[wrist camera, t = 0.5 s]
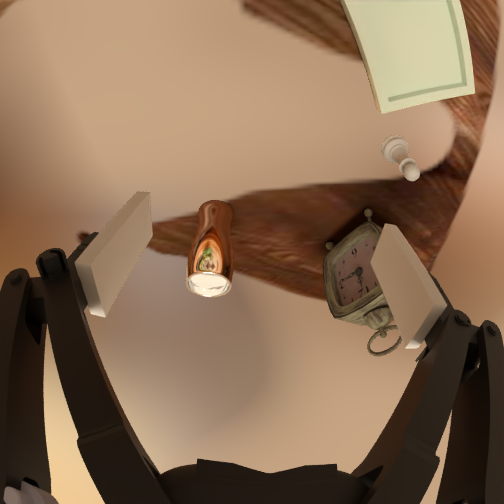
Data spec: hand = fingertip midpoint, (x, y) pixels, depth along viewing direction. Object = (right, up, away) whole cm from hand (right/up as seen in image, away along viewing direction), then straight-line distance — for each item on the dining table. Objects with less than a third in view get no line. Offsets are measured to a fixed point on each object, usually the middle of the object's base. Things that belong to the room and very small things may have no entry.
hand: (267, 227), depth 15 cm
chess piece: (+21, +15, +24) cm, 35 cm away
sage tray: (+21, +26, +10) cm, 35 cm away
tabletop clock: (+20, +3, +39) cm, 44 cm away
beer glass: (-7, +6, +35) cm, 36 cm away
